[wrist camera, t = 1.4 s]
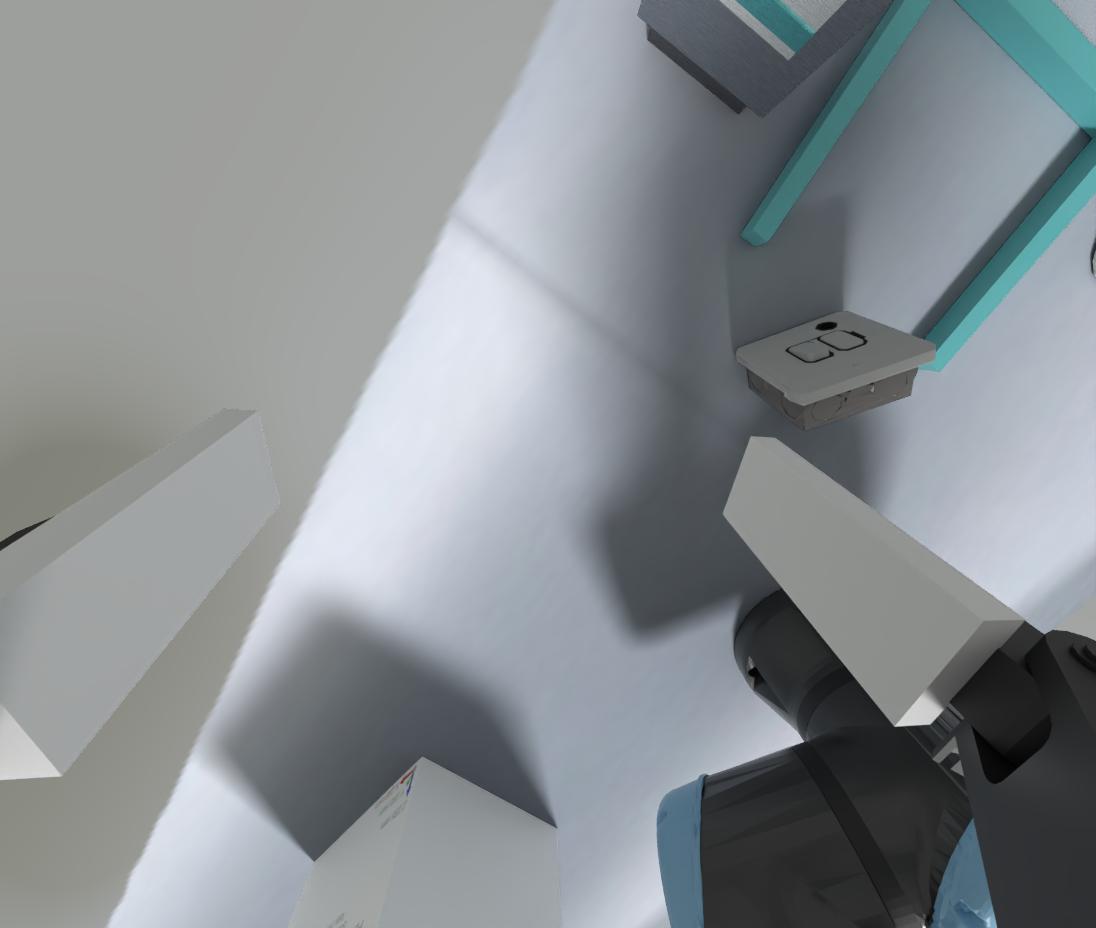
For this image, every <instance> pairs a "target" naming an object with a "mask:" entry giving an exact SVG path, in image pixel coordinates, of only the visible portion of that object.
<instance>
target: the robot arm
mask: <svg viewBox="0 0 1096 928" xmlns="http://www.w3.org/2000/svg"><path fill="white" fill-rule="evenodd" d="M279 506H280V499H279V495H278V491H277V487H276V482H275V478H274V474H273V470H272V466H271V461H270V458H269V453H268V449H267V445H266V440H265V436H264V432H263V428H262V424H261V420H260V415H259V411H258V410H239V409H223V410H221V411H220V412H218V413H217V414H215V415H213V416H212V417H210V418H208V419H207V420H206V421H204V422H202V423H201V424H199V425H197V426H196V427H194V428H193V429H191V430H190V431H188V432H187V433H185V434H183V435H182V436H180V437H179V438H177V439H176V440H174V441H173V442H171V443H169V444H168V445H166V446H165V447H163V448H161V449H160V450H158V451H157V452H155V453H154V454H152V455H150V456H149V457H147V458H146V459H144V460H143V461H141V462H139V463H138V464H136V465H135V466H133V467H131V468H130V469H128V470H127V471H125V472H124V473H122V474H121V475H119V476H117V477H116V478H114V479H113V480H111V481H109V482H108V483H106V484H105V485H103V486H102V487H100V488H98V489H97V490H95V491H94V492H92V493H91V494H89V495H87V496H86V497H84V498H83V499H81V500H80V501H78V502H76V503H75V504H73V505H72V506H70V507H69V508H67V509H65V510H64V511H62V512H61V513H59V514H58V515H56V516H54V517H52V518H49V519H47V520H44V521H42V522H39V523H37V524H34V525H32V526H30V527H27V528H25V529H23V530H20V531H18V532H16V533H14V534H13V535H11V536H9V537H8V538H6V539H5V540H3V541H1V542H0V780H5V779H23V778H40V777H57V776H63V775H64V773H65V772H66V771H67V770H68V768H69V767H70V766H71V765H72V763H73V762H74V761H75V760H76V758H77V757H78V756H79V755H80V753H81V752H82V751H83V750H84V748H85V747H86V746H87V745H88V744H89V742H90V741H91V740H92V739H93V737H94V736H95V735H96V734H97V732H98V731H99V730H100V728H101V727H102V726H103V725H104V723H105V722H106V721H107V720H108V719H109V717H110V716H111V715H112V714H113V712H114V711H115V710H116V709H117V707H118V706H119V705H120V704H121V702H122V701H123V700H124V699H125V697H126V696H127V695H128V694H129V692H130V691H131V690H132V689H133V687H134V686H135V685H136V684H137V682H138V681H139V680H140V679H141V677H142V676H143V675H144V674H145V672H146V671H147V670H148V669H149V667H150V666H151V665H152V664H153V663H154V661H155V660H156V659H157V657H158V656H159V655H160V654H161V653H162V651H163V650H164V649H165V647H166V646H167V645H168V644H169V643H170V641H171V640H172V639H173V638H174V636H175V635H176V634H177V633H178V631H179V630H180V629H181V628H182V626H183V625H184V624H185V623H186V621H187V620H188V619H189V618H190V616H191V615H192V614H193V613H194V611H195V610H196V609H197V608H198V607H199V605H200V604H201V603H202V602H203V600H204V599H205V598H206V597H207V595H208V594H209V593H210V592H211V590H212V589H213V588H214V587H215V585H216V584H217V583H218V581H219V580H220V579H221V578H222V577H223V575H224V574H225V573H226V572H227V570H228V569H229V568H230V567H231V565H232V564H233V563H234V562H235V560H236V559H237V558H238V556H239V555H240V554H241V553H242V552H243V550H244V549H245V548H246V547H247V545H248V544H249V543H250V542H251V540H252V539H253V538H254V537H255V536H256V534H257V533H258V532H259V530H260V529H261V528H262V527H263V525H264V524H265V523H266V522H267V521H268V519H269V518H270V517H271V516H272V514H273V513H274V512H275V511H276V509H277V508H278V507H279ZM723 516H724V517H725V518H726V519H727V521H728V522H729V523H730V524H731V525H732V527H733V528H734V529H735V530H736V532H737V533H738V534H739V535H740V537H741V538H742V539H743V540H744V542H745V543H746V544H747V545H748V546H749V548H750V549H751V550H752V551H753V553H754V554H755V555H756V556H757V558H758V559H759V560H760V561H761V563H762V564H763V565H764V566H765V567H766V569H767V570H768V571H769V572H770V574H771V575H772V576H773V577H774V579H775V580H776V581H777V582H778V583H779V585H780V586H781V587H782V588H783V590H780V591H778V592H776V593H775V594H773V595H771V596H769V597H768V598H766V599H765V600H764V601H762V602H761V603H760V604H759V605H758V606H756V607H755V608H754V609H753V610H752V611H751V613H750V614H749V615H748V616H747V618H746V619H745V620H744V622H743V624H742V625H741V627H740V629H739V632H738V634H737V637H736V642H735V658H736V662H737V665H738V667H739V669H740V671H741V673H742V674H743V676H744V678H745V680H746V681H747V683H748V685H749V686H750V688H751V689H752V690H753V691H754V692H755V694H756V695H757V696H758V697H760V698H761V699H762V700H763V701H764V702H765V703H766V704H767V705H768V706H770V707H771V708H772V709H773V710H774V711H775V712H776V713H777V714H779V715H780V716H781V717H782V718H783V719H784V720H785V721H786V722H788V723H789V724H790V725H791V726H792V727H793V728H794V729H795V730H797V732H798V733H799V734H800V736H801V737H802V739H803V741H804V742H803V743H800V744H798V745H795V746H792V747H788V748H785V749H783V750H780V751H777V752H774V753H772V754H769V755H766V756H763V757H761V758H758V759H755V760H752V761H750V762H747V763H744V764H742V765H739V766H736V767H733V768H730V769H728V770H725V771H722V772H719V773H716V774H713V775H710V776H708V775H707V774H706V773H705V774H702V775H700V777H699V778H698V779H697V780H695V781H693V782H691V783H688V784H686V785H684V786H681V787H679V788H677V789H674V790H672V791H670V792H669V793H667V794H666V795H665V797H664V798H663V799H662V801H661V803H660V806H659V810H658V815H657V846H658V857H659V865H660V872H661V879H662V885H663V891H664V896H665V901H666V906H667V911H668V916H669V920H670V925H671V928H1096V641H1095V640H1092V639H1090V638H1088V637H1085V636H1082V635H1078V634H1075V633H1071V632H1068V631H1058V630H1052V631H1050V632H1048V633H1046V634H1045V635H1044V634H1043V633H1041V632H1040V631H1038V630H1037V629H1036V628H1034V627H1033V626H1032V625H1030V624H1029V623H1027V622H1026V621H1025V619H1024V618H1023V617H1021V616H1020V615H1018V614H1017V613H1016V612H1014V611H1013V610H1012V609H1010V608H1009V607H1007V606H1006V605H1005V604H1003V603H1002V602H1001V601H999V600H998V599H996V598H995V597H994V596H992V595H991V594H990V593H988V592H987V591H985V590H984V589H983V588H981V587H980V586H979V585H977V584H976V583H974V582H973V581H972V580H970V579H969V578H968V577H966V576H965V575H963V574H962V573H961V572H959V571H958V570H956V569H955V568H954V567H952V566H951V565H950V564H948V563H947V562H945V561H944V560H943V559H941V558H940V557H939V556H937V555H936V554H934V553H933V552H932V551H930V550H929V549H928V548H926V547H925V546H923V545H922V544H921V543H919V542H918V541H917V540H915V539H914V538H912V537H911V536H910V535H908V534H907V533H906V532H904V531H903V530H901V529H900V528H899V527H897V526H896V525H895V524H893V523H892V522H890V521H889V520H888V519H886V518H885V517H884V516H882V515H881V514H879V513H878V512H877V511H875V510H874V509H873V508H871V507H870V506H868V505H867V504H866V503H864V502H863V501H862V500H860V499H859V498H857V497H856V496H855V495H853V494H852V493H850V492H849V491H848V490H846V489H845V488H844V487H842V486H841V485H839V484H838V483H837V482H835V481H834V480H833V479H831V478H830V477H828V476H827V475H826V474H824V473H823V472H822V471H820V470H819V469H817V468H816V467H815V466H813V465H812V464H811V463H809V462H808V461H806V460H805V459H804V458H802V457H801V456H800V455H798V454H797V453H795V452H794V451H793V450H791V449H790V448H789V447H787V446H786V445H784V444H783V443H782V442H780V441H779V440H778V439H776V438H774V437H755V436H751V437H750V440H749V443H748V445H747V448H746V451H745V454H744V456H743V459H742V462H741V465H740V467H739V470H738V473H737V476H736V478H735V481H734V484H733V487H732V489H731V492H730V495H729V498H728V500H727V503H726V506H725V509H724V511H723Z"/></svg>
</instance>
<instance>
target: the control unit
mask: <svg viewBox="0 0 1096 928" xmlns="http://www.w3.org/2000/svg"><path fill="white" fill-rule="evenodd" d="M892 1H893V0H642V2H641V5H640V8H639V11H638V14H637V16H638V17H640V18H641V19H642V20H643V21H644V22H646V23H647V24H648V25H649V26H650V27H652V29H651V32H650V35H649V37H648V41H650V42H651V43H652V44H653V45H655V46H656V47H657V48H658V49H660V50H661V51H662V52H663V53H664V54H666V55H667V56H668V57H669V58H671V59H672V60H673V61H674V62H675V63H677V64H678V65H679V66H680V67H682V68H683V69H684V70H685V71H686V72H688V73H689V74H690V75H691V76H693V77H694V78H695V79H696V80H698V81H699V82H700V83H701V84H702V85H704V86H705V87H706V88H707V89H709V90H710V91H711V92H712V93H713V94H715V95H716V96H717V97H718V98H720V99H721V100H722V101H723V102H725V103H726V104H727V105H728V106H729V107H731V108H732V109H733V110H734V111H736V112H737V113H738V114H739V113H740V112H741V111H742V110H743V109H744V108H745V107H746V106H748V107H749V108H750V109H751V110H752V111H754V112H755V113H756V114H757V115H758V116H760V117H761V118H763V117H764V116H765V115H766V114H767V113H768V112H769V111H770V110H772V109H773V108H774V107H775V106H776V105H777V104H778V103H779V102H781V101H782V100H783V99H784V98H785V97H786V96H787V95H788V94H789V93H791V92H792V91H793V90H794V89H795V88H796V87H797V86H798V85H799V84H801V83H802V82H803V81H804V80H805V79H806V78H807V77H808V76H809V75H811V74H812V73H813V72H814V71H815V70H816V69H817V68H818V67H819V66H821V65H822V64H823V63H824V62H825V61H826V60H827V59H828V58H829V57H831V56H832V55H833V54H834V53H835V52H836V51H837V50H838V49H839V48H841V47H842V46H843V45H844V44H845V43H846V42H847V41H848V40H849V39H851V38H852V37H853V36H854V35H855V34H856V33H857V32H858V31H859V30H861V29H862V28H863V27H864V26H865V25H866V24H867V23H868V22H869V21H871V20H872V19H873V18H874V17H875V16H876V15H877V14H878V13H880V12H881V11H882V10H883V9H884V8H885V7H886V6H887V5H888V4H890V3H891V2H892Z"/></svg>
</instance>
